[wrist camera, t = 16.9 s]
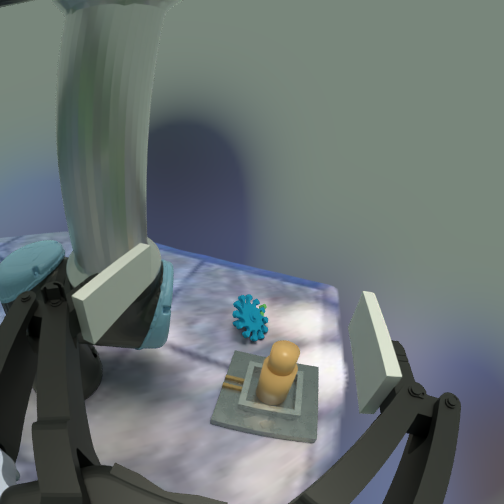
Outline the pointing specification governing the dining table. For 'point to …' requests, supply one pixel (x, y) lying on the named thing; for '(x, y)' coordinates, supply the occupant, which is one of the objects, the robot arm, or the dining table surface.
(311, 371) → the junction box
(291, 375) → the stacked tan cylinders
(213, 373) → the dining table surface
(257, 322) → the gear
